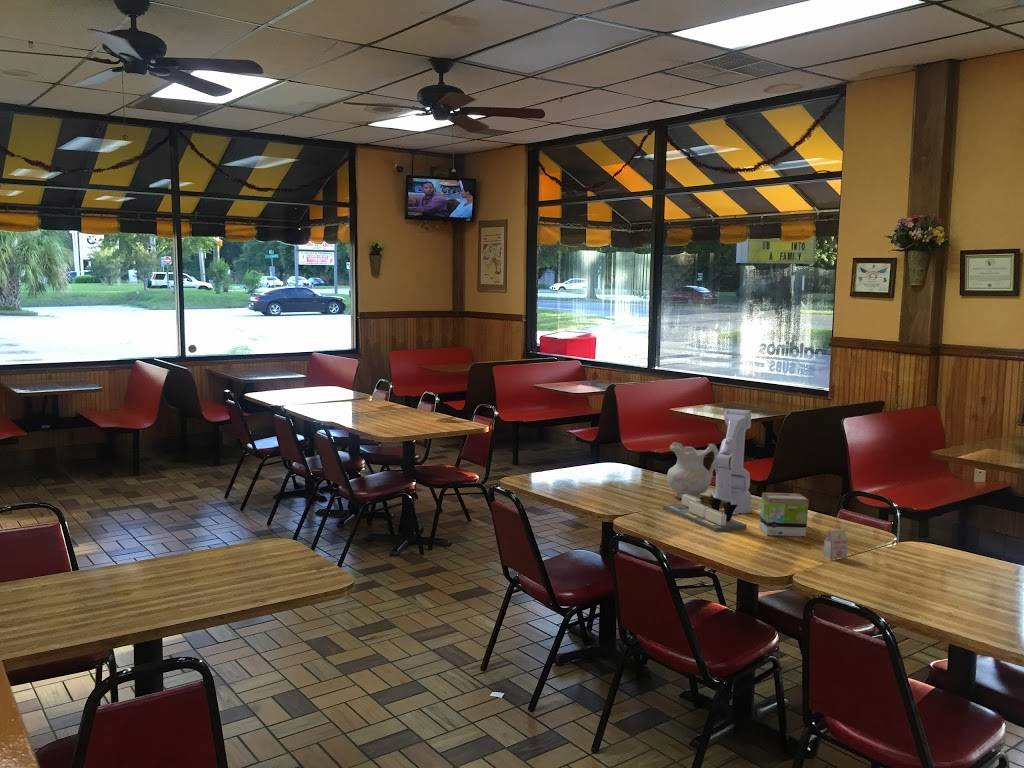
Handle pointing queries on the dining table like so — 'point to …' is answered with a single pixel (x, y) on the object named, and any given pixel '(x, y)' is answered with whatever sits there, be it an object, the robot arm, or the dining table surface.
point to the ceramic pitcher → (690, 470)
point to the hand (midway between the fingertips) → (721, 518)
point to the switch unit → (685, 513)
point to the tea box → (783, 514)
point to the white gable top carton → (835, 544)
